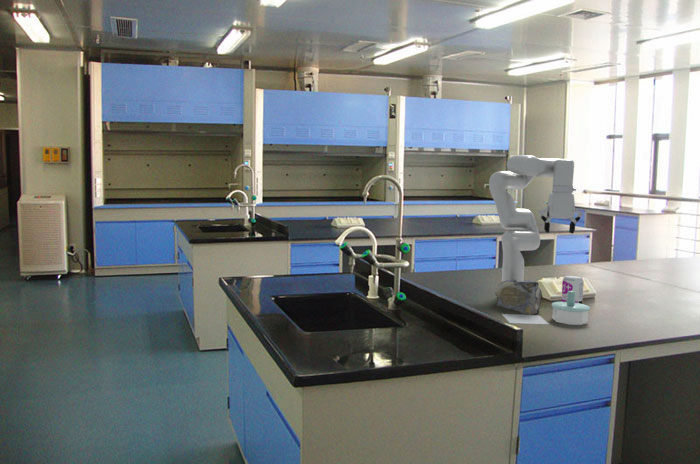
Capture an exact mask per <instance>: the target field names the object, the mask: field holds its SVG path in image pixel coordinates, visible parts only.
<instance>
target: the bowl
mask: <svg viewBox="0 0 700 464" xmlns="http://www.w3.org/2000/svg"><path fill="white" fill-rule="evenodd" d="M551 317H552V320H553V321H555V322H557V323H561V324H565V325H575V326H576V325H577V326H582V325H587V323H588V320H589V311H586V312H570V311H563V310H559V309H555V308H553V307H552V315H551Z"/></svg>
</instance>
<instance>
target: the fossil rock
mask: <svg viewBox="0 0 700 464" xmlns="http://www.w3.org/2000/svg"><path fill="white" fill-rule="evenodd" d="M494 296H495V297H496V298H497V301H496V304H495V305H496V306H497V307H501V308H504V309H508V310H510V311H515V312H520V313H521V314H522V315H538V314H539V313H540V309H541V305H542V300H543V292H542V290H541V288H540V287H539V282H538V281H534V280H527V279H526V280H524V279H523V280H522V281H517V280H514V279H513V280H506V281H503V282H502V281H501V282H499V284H498V286H497V287H496V288H495V290H494Z"/></svg>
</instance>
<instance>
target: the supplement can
mask: <svg viewBox="0 0 700 464" xmlns="http://www.w3.org/2000/svg"><path fill="white" fill-rule="evenodd" d="M584 284H585V283H584V279H583V276H580V275H573V274H572V275H570V274H568V275H564V277H563V278H562V285H561V298H560V299H561V301H560V302H567V295H568V291H575V303H580V304H583V297H584Z"/></svg>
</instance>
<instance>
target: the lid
mask: <svg viewBox="0 0 700 464" xmlns="http://www.w3.org/2000/svg"><path fill="white" fill-rule="evenodd" d="M551 307H552V309H553V308H555V309H559V310H563V311H570V312H586V311H588V312H589V311H591V310H590V309H591V307H590V306H589V305H587V304H584V303H582V304H580V303H575V291H568V295H567V302H561V301H554V302H552V303H551Z"/></svg>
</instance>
